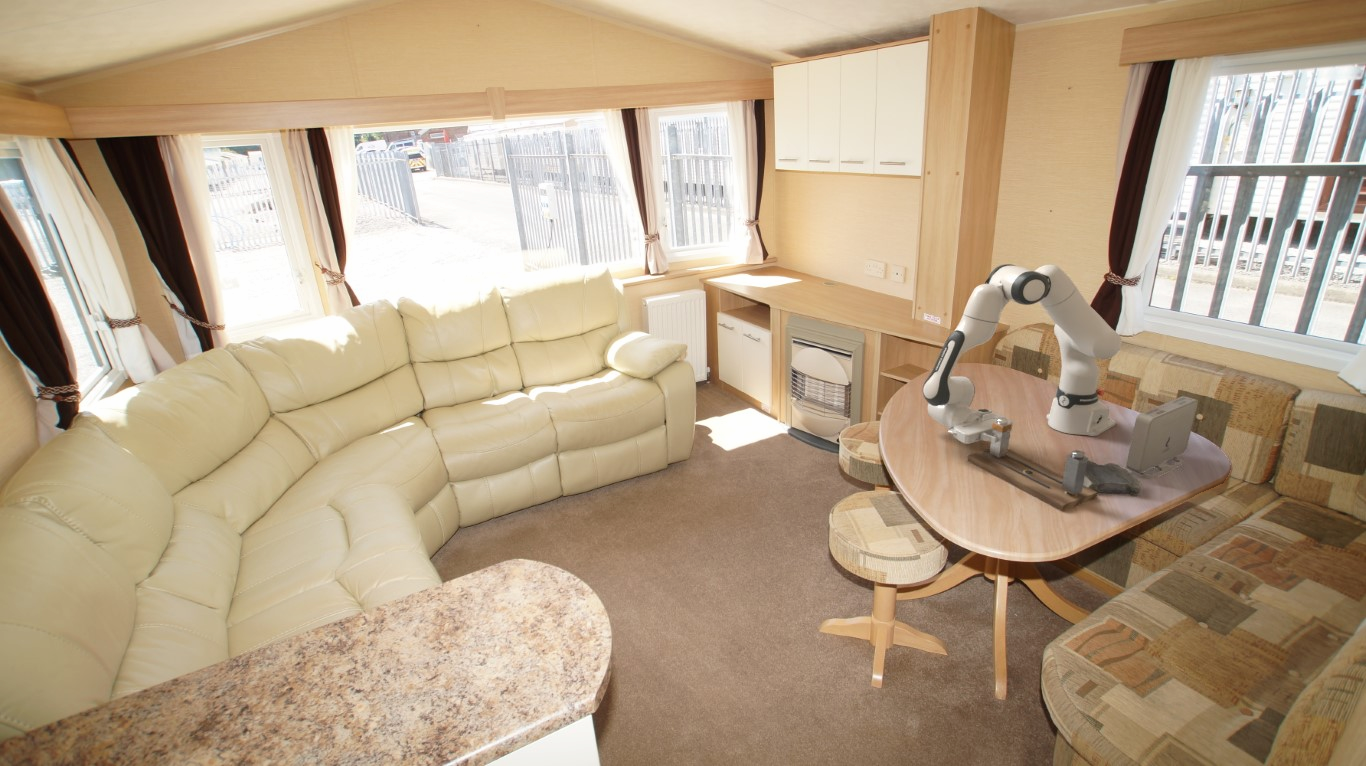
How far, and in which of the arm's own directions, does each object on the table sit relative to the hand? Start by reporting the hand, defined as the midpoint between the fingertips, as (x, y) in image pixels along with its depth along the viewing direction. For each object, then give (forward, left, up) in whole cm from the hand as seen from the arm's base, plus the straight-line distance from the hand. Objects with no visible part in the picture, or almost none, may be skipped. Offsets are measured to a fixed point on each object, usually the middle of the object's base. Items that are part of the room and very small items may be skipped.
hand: (1002, 438), depth 200 cm
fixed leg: (0, +25, -7) cm, 26 cm away
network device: (-39, +23, -9) cm, 46 cm away
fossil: (-17, +23, -10) cm, 30 cm away
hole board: (0, +11, -9) cm, 14 cm away
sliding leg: (0, -1, -7) cm, 7 cm away
